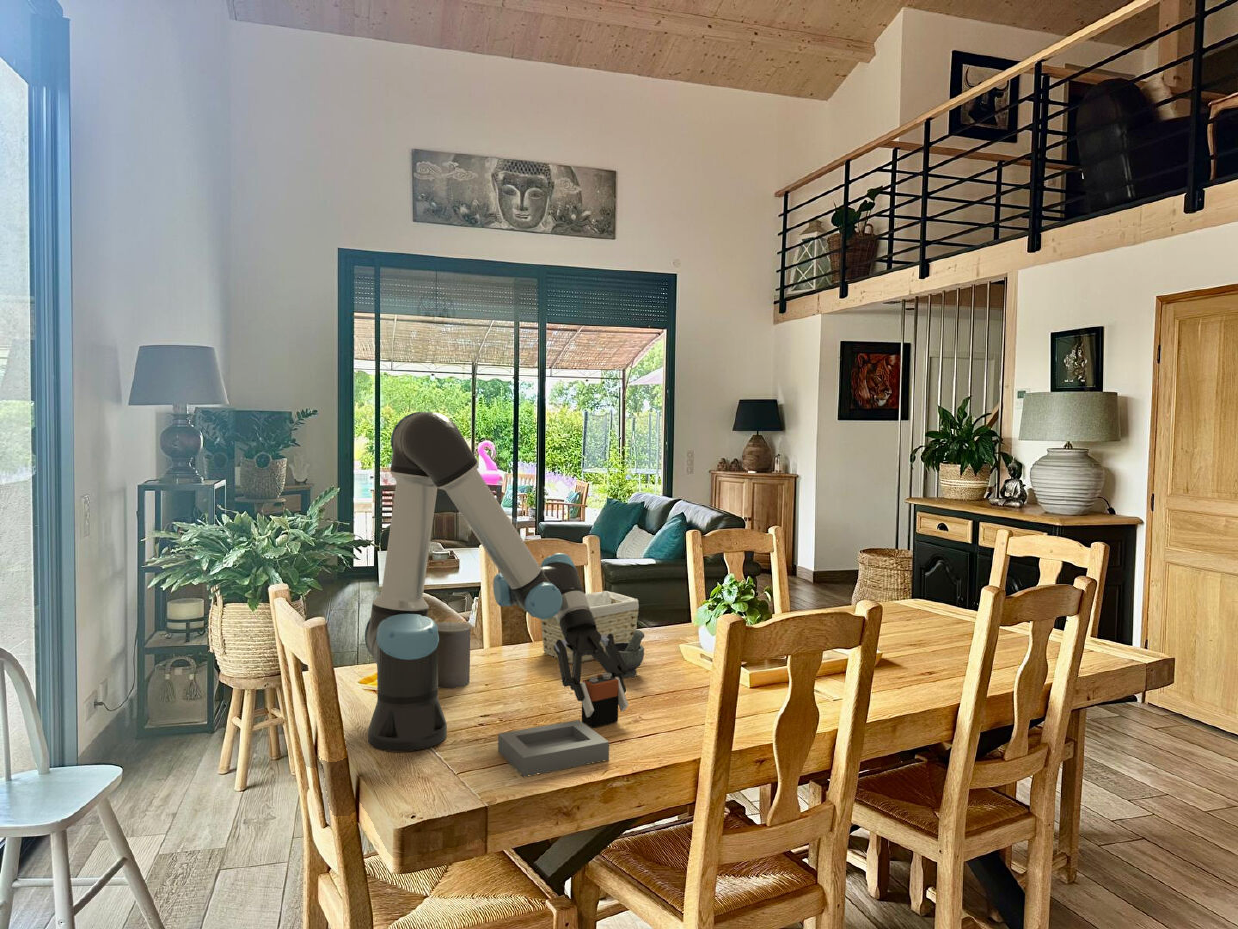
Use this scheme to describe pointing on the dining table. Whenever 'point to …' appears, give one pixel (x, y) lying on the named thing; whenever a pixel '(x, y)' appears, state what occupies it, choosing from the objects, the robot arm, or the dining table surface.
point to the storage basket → (598, 621)
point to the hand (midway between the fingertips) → (607, 710)
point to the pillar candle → (453, 654)
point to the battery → (602, 700)
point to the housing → (552, 747)
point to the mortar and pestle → (631, 652)
